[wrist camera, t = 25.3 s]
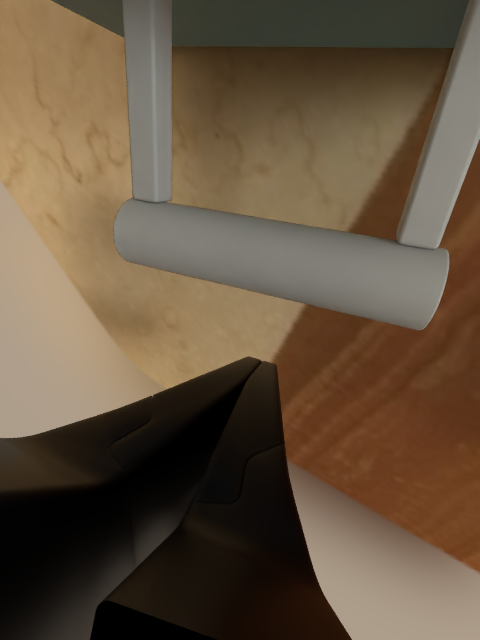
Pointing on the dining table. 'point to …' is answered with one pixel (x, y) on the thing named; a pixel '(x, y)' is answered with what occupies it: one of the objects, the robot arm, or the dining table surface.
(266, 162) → the dining table surface
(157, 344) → the dining table surface
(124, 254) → the open handled drawer
